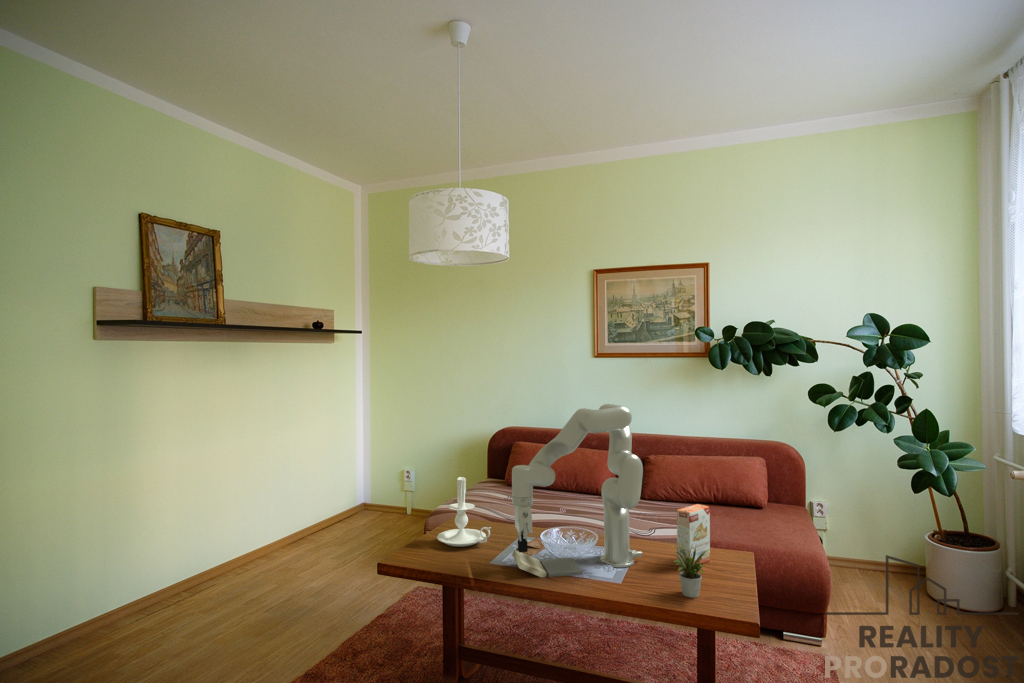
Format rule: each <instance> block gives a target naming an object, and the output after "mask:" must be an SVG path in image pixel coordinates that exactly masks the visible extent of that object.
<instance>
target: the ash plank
mask: <svg viewBox="0 0 1024 683" xmlns="http://www.w3.org/2000/svg"><path fill="white" fill-rule="evenodd" d="M512 557H513V559H514V561H515V563H516V565H517V567H518V569H520V570H523V571H525V572H527V573H530V574H532V575H535V576H537V577H539V578H546V577H549V576H548V575H547V573H546V571H545V569H544V568H543V566H542V565H541V563H540V560H539V558H536V557H533V556H529V555H527V554H524V553H522V552H519V551H517V550H516V549H513V552H512Z"/></svg>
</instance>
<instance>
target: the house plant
mask: <svg viewBox="0 0 1024 683" xmlns="http://www.w3.org/2000/svg"><path fill="white" fill-rule="evenodd" d="M666 545H669V546H670V547H672V548H673V549H675V551H676V552H675V551H674V553H676V554H673V556H675V557H676V559H674V560H673V562H674V563H675V564H676V565H677V564H678V565H680V566H678V565H677V567H678V569H677V572H679V571H681V572H679V580H680V587H681V592H682V595H683V596H685V597H687V598H698V597H699V596H700V591H701V585H702V584H701V583H702V578H703V576H702V575H703V574H704V570H703V569H702V568H703V567H707V562H706V563H698V561H699V560H700V558H701V557H702V556H703V555H704V554H705V552H707V551H708V550H706V551H704V552H703V553H702V554H701V555H700V556H699V557H698V558H697V560H696V561H695V563H694V559H695V555H696V548H695V549H694V552H693V558H691V556H692V554H691V556H690V555H689V557H687V555H686V553H685V550H684V548H683V547H682V545H681V546H679V547H680V549H681V551H682V553H683V555H684V557H685V560H684V558H683V557H682V556H681V555H680V554H679V552H678V551H677V547H675V546H673V545H670V544H666ZM692 545H693V544H692ZM691 547H692V546H691ZM677 552H678V553H677ZM690 553H691V549H690ZM677 554H679V555H680V557H681V558H682V560H683V562H684V564H685V566H686V567H685V566H684V565H683V563H682V562H681V560H680V559H679V557H678V556H677ZM677 558H678V559H679V560H680V561H678V560H677ZM685 561H686V562H685ZM673 562H672V563H673ZM697 563H698V564H697ZM693 564H694V565H693ZM700 573H701V574H700Z"/></svg>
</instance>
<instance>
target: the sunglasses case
mask: <svg viewBox="0 0 1024 683" xmlns="http://www.w3.org/2000/svg"><path fill="white" fill-rule="evenodd" d="M541 541H542V540H540V539H539V538H538V537H537V536H536V537H535V538H534V539H531V540H529V541H527V549H528V551H527V552H522V553H524V554H527V555H529V556H531V557H533V556H535V555H537V554H539V553H540V552H542V551H543V550H545V547H544V545H543V544H542V542H543V541H542V542H541ZM515 550H517V551H518V547H517V548H515Z"/></svg>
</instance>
